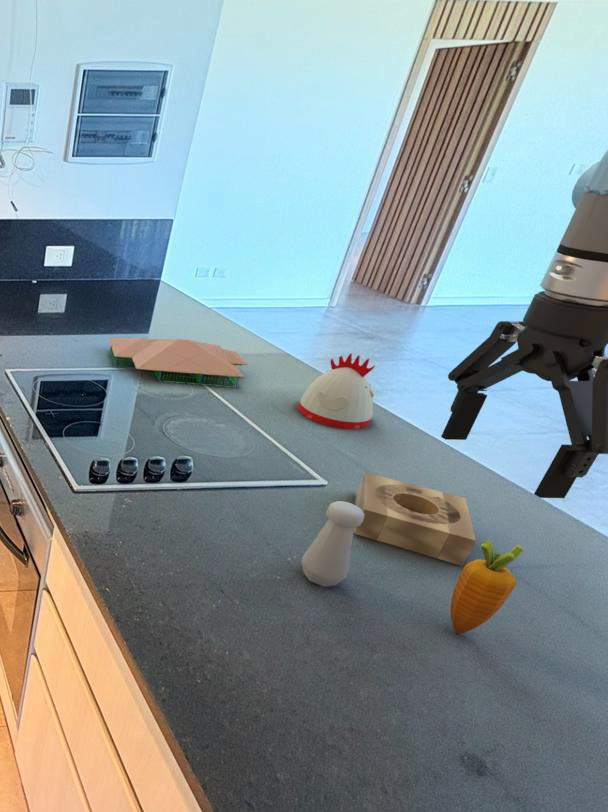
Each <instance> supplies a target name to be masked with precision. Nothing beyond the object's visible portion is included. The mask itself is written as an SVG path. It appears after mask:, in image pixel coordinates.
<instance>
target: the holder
mask: <svg viewBox="0 0 608 812" xmlns="http://www.w3.org/2000/svg"><path fill="white" fill-rule="evenodd" d="M354 505H356V506H357V507H359V508H360V509H361V510H362V511H363V513H364V519H363V522H362V524H361V525H360V526H359V527H356V528H354V532H353V535H354V534H355V535H357V536H360V537H364V538H367V539H370V540H373V541H378V542H381V543H383V544H388V545H390V546H394V547H396V548H397V547H398V548H401V549H404V550H407V551H411V552H414V553H418V554H421V555H424V556H427V557H431V558H434V559H437V560H441V561H444V562H448V563H450V564H454V565H457V566H461V567H463V565H464V564H465V562H466V560H467V559H468V557H469V555H470V552H471V551H472V549H473V547H474V545H475V543H476V541H477V540H476V536H475V531H474V528H473V527H474V526H473V522H472V519H471V514H470V510H469V506H468V501H467V498H465V497H462V496H458V495H455V494H451V493H448V492H444V491H439V490H437V489H433V488H432V489H431V488H428V487H424V486H420V485H416V484H412V483H408V482H404V481H401V480H400V481H399V480H396V479H393V478H389V477H384V476H381V475H376V474H373V473H369V472H364V474H363V477H362V479H361V481H360V484H359V486H358V489H357V491H356V493H355V502H354Z"/></svg>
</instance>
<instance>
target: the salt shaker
mask: <svg viewBox="0 0 608 812" xmlns="http://www.w3.org/2000/svg"><path fill="white" fill-rule="evenodd" d="M325 515H326V517H327V521H326V522H325V524H324V525H323V527H322V528H321V530H320V531H319V533H318V534H317V536H316V537H315V539H313V541H312V543H311V544H310V545H309V547H308V549H307V550H306V551H305V553H304V554H303V556H302V558H301V565H302V573H303V574H304V575H305V577H306V578H307V579H308V581H309V582H311V583H314V584H316V585H319V586H321V587H324V588H325V587H334V586H336V585H338V584H339V583H341V582H342V581H344V580H345V579H346V578H347V576H348V574H349V569H350V562H351V561H350V560H351V552H352V551H351V550H352V546H353V545H352V544H353V539H354V528H356V527H359V526H360V525H361V524H362V522H363V519H364V513H363V511H362V510H361V509H360V508H359V507H357V506H356V505H355V503H354V504H353V503H351V502H347V501H344V500H337V501H334V502H330V504H329V505H328V507H327V509H326V511H325Z"/></svg>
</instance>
